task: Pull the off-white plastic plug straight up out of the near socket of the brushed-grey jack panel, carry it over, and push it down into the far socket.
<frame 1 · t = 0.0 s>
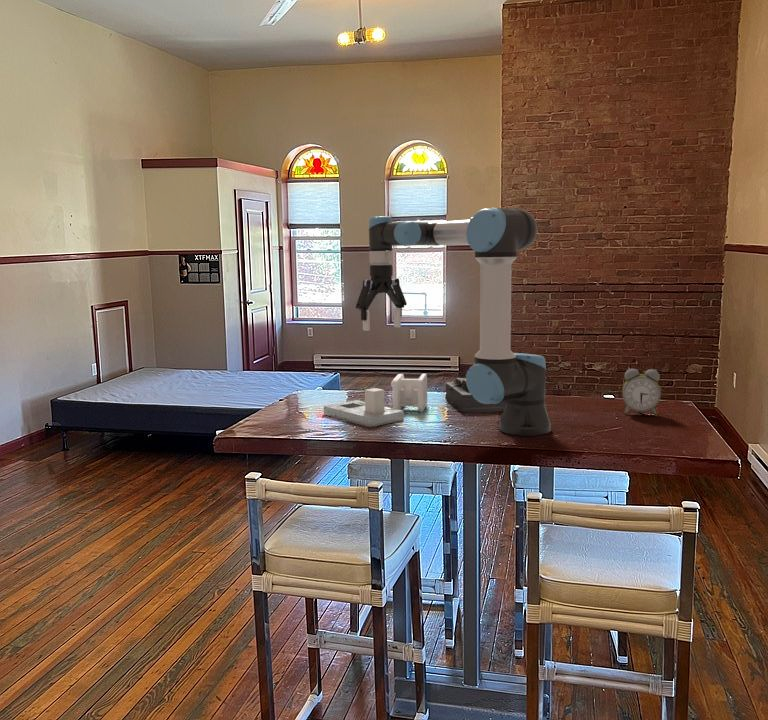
hand: (382, 328, 242), 28 cm above the table, fingers open, 13 cm apart
jack panel: (363, 417, 238), on the table
dark grey tray: (479, 405, 256), on the table
plug: (375, 420, 234), resting in jack panel
cable organizer: (409, 410, 249), on the table
alarm clock: (640, 414, 237), on the table
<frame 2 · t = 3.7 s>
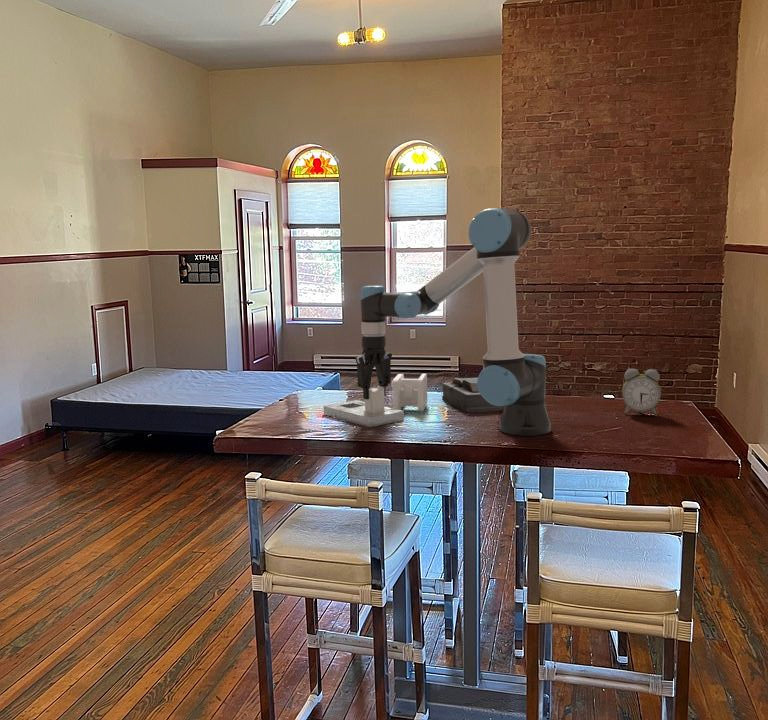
hand: (374, 407, 233), 4 cm above the table, fingers closed on plug, 4 cm apart
plug: (375, 420, 234), resting in jack panel, touching gripper
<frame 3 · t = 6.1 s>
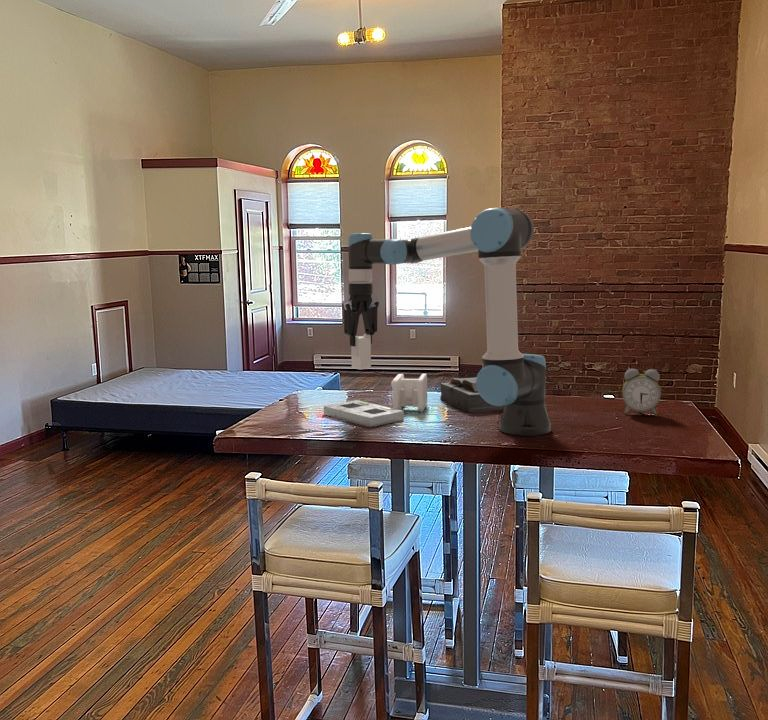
hand: (361, 355, 235), 21 cm above the table, fingers closed on plug, 4 cm apart
plug: (361, 368, 236), point 16 cm above the table, touching gripper
when the fingers open (6 cm above the table, at t = 8.7 s): plug drops 1 cm, resting in jack panel.
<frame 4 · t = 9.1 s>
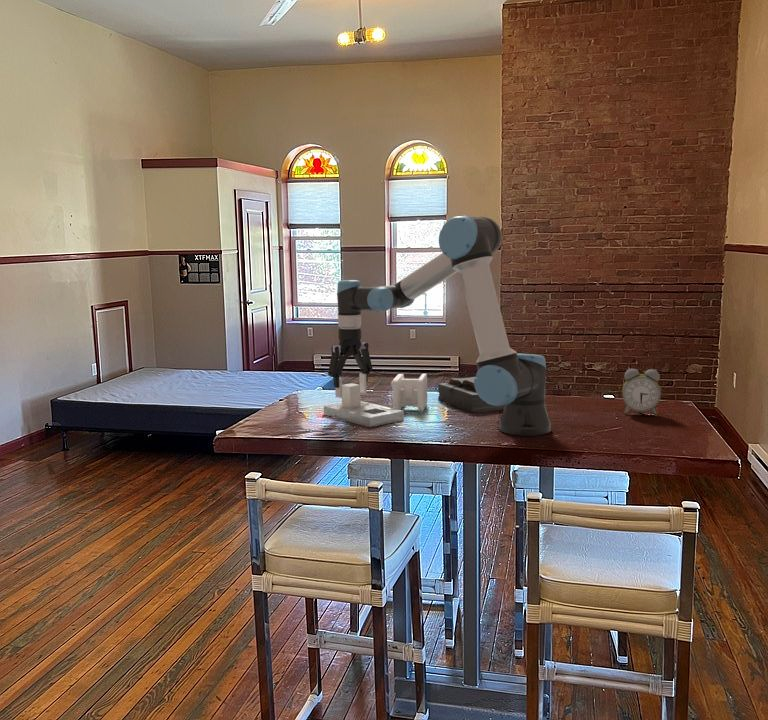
hand: (351, 394, 242), 7 cm above the table, fingers open, 9 cm apart
plug: (351, 414, 243), resting in jack panel
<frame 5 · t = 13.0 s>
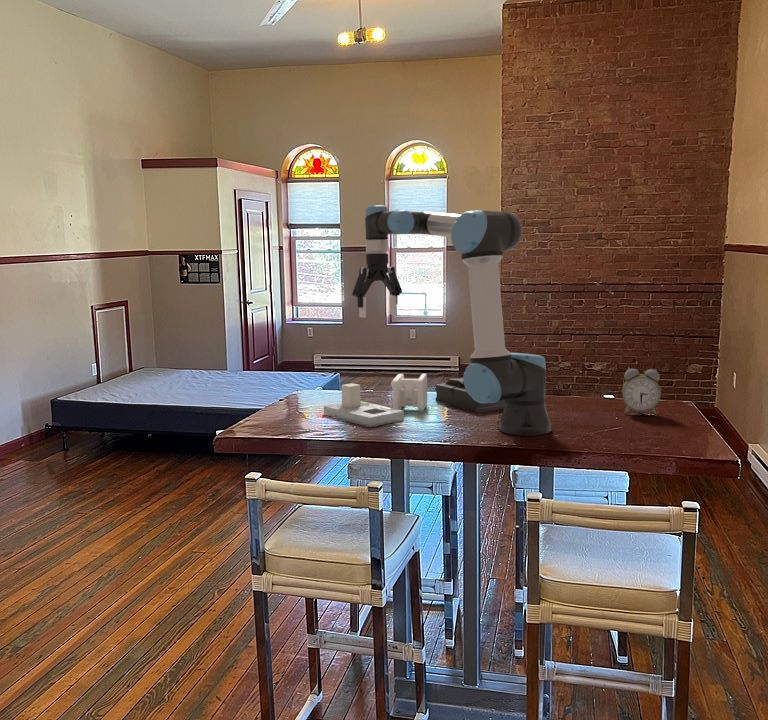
hand: (378, 316, 248), 32 cm above the table, fingers open, 13 cm apart
at the end: plug 0.0 cm from the target spot on the jack panel, point 0.0 cm above the jack panel's base; plug tilted 0°; the gripper is holding nothing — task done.
